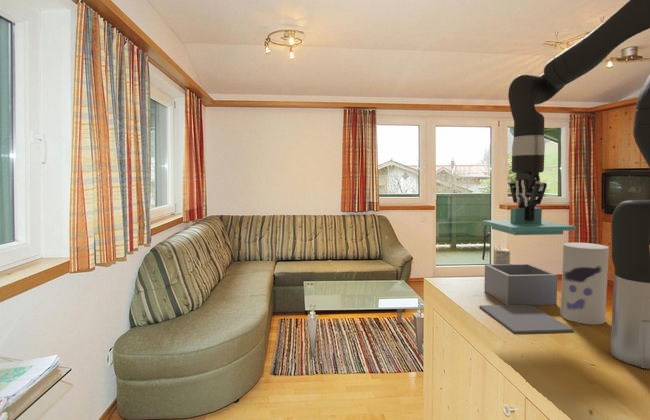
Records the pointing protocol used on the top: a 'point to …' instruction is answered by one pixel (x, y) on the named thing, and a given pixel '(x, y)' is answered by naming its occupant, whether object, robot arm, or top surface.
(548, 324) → the mat
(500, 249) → the supplement box
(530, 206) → the robot arm
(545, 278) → the storage box
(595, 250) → the container
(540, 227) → the lid
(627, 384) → the top surface
